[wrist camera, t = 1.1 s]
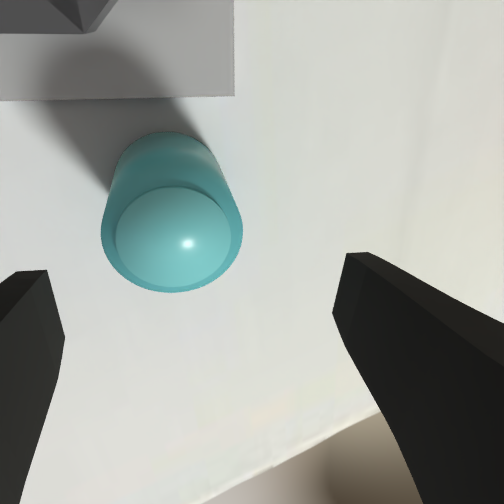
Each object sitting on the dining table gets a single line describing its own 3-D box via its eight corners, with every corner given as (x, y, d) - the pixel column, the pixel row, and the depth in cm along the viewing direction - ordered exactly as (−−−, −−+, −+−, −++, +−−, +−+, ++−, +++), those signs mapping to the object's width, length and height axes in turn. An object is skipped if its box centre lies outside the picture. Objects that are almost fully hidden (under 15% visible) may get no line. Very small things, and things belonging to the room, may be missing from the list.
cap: (124, 236, 18) (114, 305, 14) (104, 134, 16) (84, 179, 11) (224, 227, 19) (244, 289, 15) (221, 129, 17) (244, 169, 12)
